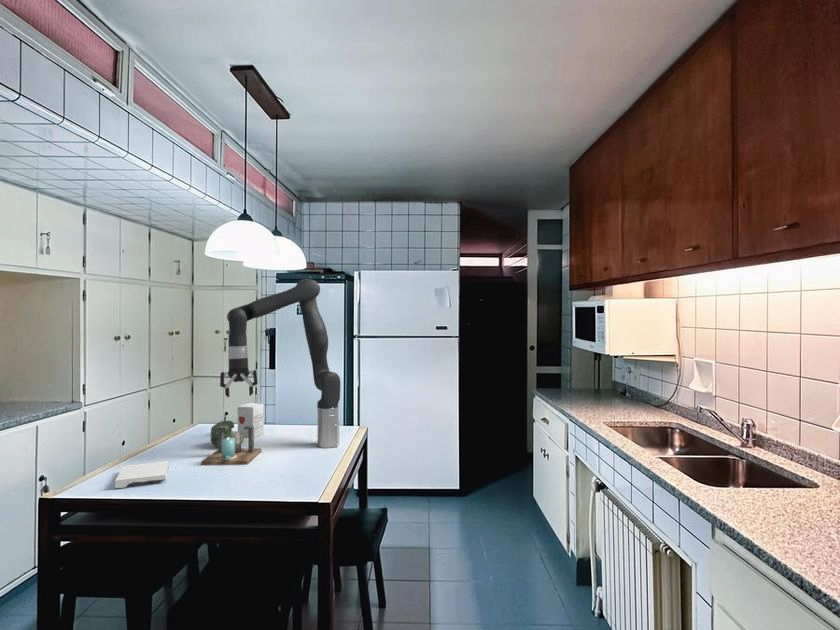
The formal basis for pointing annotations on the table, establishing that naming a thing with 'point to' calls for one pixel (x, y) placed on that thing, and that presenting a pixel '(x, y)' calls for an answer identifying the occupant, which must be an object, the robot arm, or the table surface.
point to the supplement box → (251, 418)
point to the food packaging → (141, 474)
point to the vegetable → (226, 431)
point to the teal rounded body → (228, 448)
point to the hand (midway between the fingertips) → (239, 396)
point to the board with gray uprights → (241, 454)
